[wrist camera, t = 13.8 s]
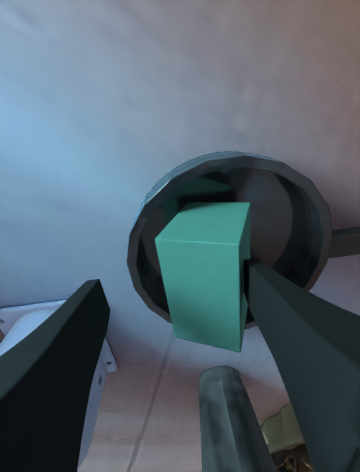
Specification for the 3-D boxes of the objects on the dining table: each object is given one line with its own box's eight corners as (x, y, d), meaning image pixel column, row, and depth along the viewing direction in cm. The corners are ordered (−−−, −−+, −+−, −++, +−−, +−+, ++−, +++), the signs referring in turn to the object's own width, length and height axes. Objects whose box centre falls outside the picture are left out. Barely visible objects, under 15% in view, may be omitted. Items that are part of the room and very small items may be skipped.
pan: (299, 298, 20) (315, 320, 18) (151, 318, 20) (149, 343, 18) (323, 136, 14) (353, 139, 12) (111, 167, 14) (101, 176, 12)
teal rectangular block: (249, 292, 17) (240, 353, 13) (197, 285, 18) (174, 337, 14) (251, 201, 13) (240, 244, 9) (187, 201, 15) (153, 238, 11)
